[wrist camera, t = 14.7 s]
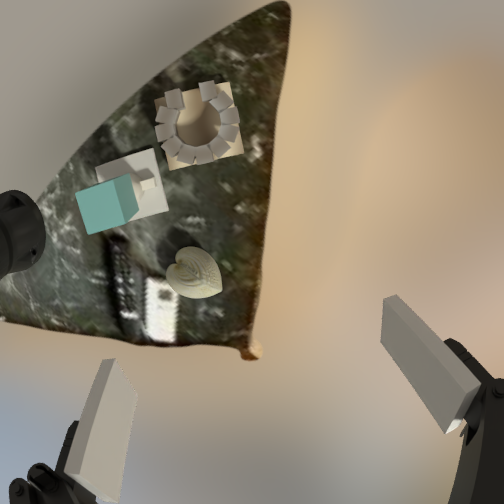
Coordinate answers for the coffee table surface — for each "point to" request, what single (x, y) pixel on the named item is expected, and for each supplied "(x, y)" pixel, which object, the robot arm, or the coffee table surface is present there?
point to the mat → (145, 169)
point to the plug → (112, 201)
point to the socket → (198, 125)
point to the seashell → (194, 274)
